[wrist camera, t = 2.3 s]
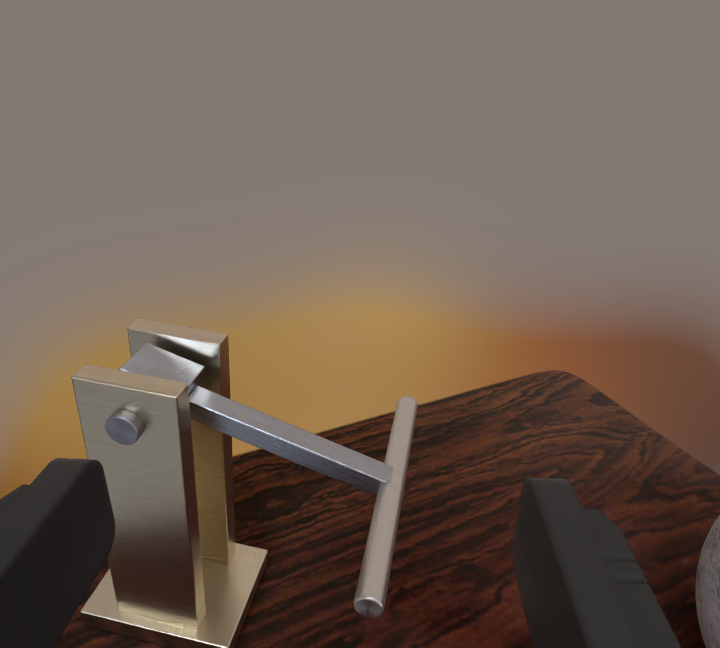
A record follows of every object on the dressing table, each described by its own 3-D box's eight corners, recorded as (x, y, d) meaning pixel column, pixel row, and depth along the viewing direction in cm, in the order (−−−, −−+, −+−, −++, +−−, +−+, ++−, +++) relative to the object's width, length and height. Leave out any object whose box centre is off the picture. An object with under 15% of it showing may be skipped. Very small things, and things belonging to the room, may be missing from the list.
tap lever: (408, 423, 30) (425, 391, 29) (370, 632, 20) (395, 595, 19) (187, 331, 30) (195, 295, 29) (33, 493, 20) (36, 446, 19)
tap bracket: (268, 563, 33) (270, 334, 26) (228, 662, 28) (216, 414, 20) (143, 534, 34) (109, 306, 27) (82, 625, 29) (18, 375, 21)
